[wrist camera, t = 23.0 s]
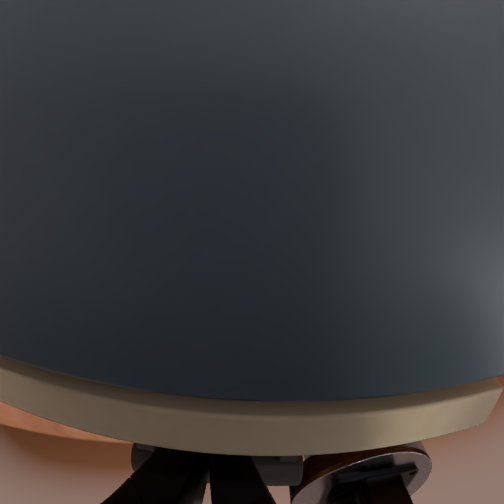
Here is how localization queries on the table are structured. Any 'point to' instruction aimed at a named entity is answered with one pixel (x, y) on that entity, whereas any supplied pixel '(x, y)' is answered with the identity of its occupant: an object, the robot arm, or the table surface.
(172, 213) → the cabinet
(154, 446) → the drawer
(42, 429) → the table surface
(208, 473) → the robot arm
